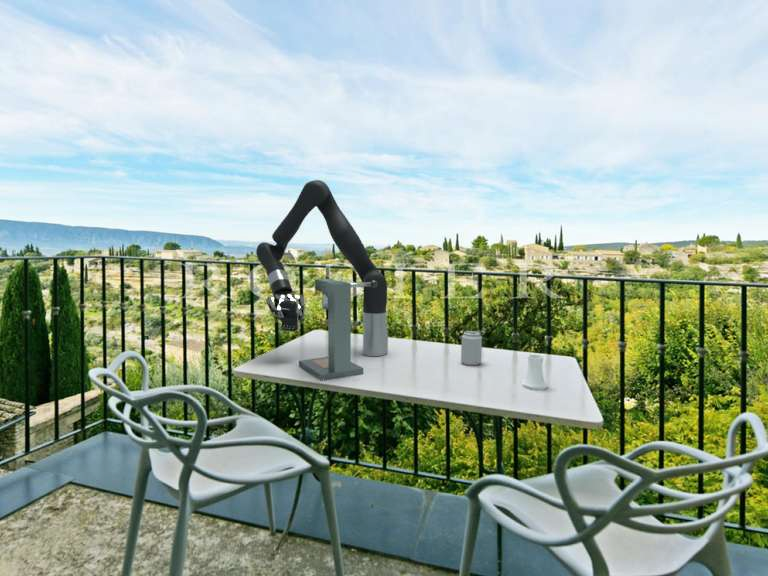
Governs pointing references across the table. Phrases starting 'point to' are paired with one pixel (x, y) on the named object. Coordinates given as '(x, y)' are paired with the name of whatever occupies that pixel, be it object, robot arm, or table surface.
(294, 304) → the battery charger
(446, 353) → the table surface
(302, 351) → the table surface
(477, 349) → the can
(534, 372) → the vase
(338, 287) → the press
